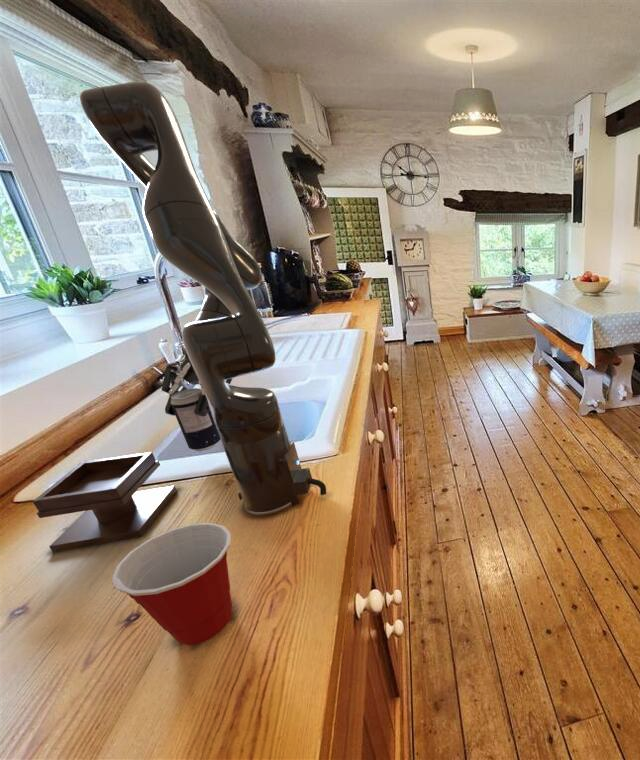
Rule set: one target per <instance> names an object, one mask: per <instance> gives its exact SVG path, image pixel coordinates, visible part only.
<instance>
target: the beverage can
mask: <svg viewBox="0 0 640 760" xmlns="http://www.w3.org/2000/svg"><path fill="white" fill-rule="evenodd" d="M179 391H180V390H179ZM200 395H203V394H202V392H201V388H197V387H196V388H195V387H194V388H193V389H187V390H183V391H180V392H177V393H175V394H173V395H172V396H171V399H172V400H171V406H172V409H173V411H174V413H175V418H176V420H177V424H178V426H179V428H180V430H181V433H182V435H183V437H184V441H185V442H186V445H187V447H188V449H190V450H193V451H196V452H204V451H207V450H210V449H212V448H214V447H217V445H219V442H221V439H220V436H219V433H218V431H217V428H216V425H215V422H214V420H213V417H212V414H211V410H209V412H208V413H207V415H206V416H199V415H196V414H195V413H194V411H195V408H196V405H197V402H198V399H199V397H200Z"/></svg>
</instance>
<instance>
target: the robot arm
mask: <svg viewBox="0 0 640 760" xmlns="http://www.w3.org/2000/svg"><path fill="white" fill-rule="evenodd" d="M79 101H80V105H81V108H82V110H83V112H84V114H85V115H86V118H87V119H88V122H89V124H90V125H91V126H92V127H93V129H94V130H95V132H96V133H97V134H98V136H99V137H100V138H101V140H103V142H104V143H105V145H107V147H108V148H109V149H110V150H111V151H112V153H113V154H114V155H115V156H116V157H117V158H118V159H119V160H120V161H121V162H122V163H123V164H124V166H126V168H127V169H128V170H129V171H130V172H131V174H133V175H134V177H135V178H136V179H137V180H138V182H140V183H141V184H142V185H143V187H145V189H146V190H145V193H144V198H143V200H142V215H143V218H144V221H145V223H146V226H147V229H148V231H149V233H150V237H151V238H152V241H153V242H154V245H155V247H156V250H157V251H158V253H159V254H160V255H161V256H162V257H163V258H164V259H165V260H166V261H167V262H168V263H170V264H171V265H172V266H173V267H174V268H176V269H177V270H179V271H180V272H181V273H184V274H185V275H186V276H188V277H189V278H191V279H192V280H193V281H195V282H197V283H198V284H200V285H202V286H203V287H204V299H203V301H202V305H201V306H200V310H199V312H198V313H197V316H196V318H195V320H194V321H192V322H188V323H186V324H185V325H184V326H183V328H182V333H181V335H182V336H181V337H182V343H183V346H184V348H183V354H184V359H183V361H182V362H181V364H177V365H174V364H171V363H169V364H167V365H166V367H165V370H164V371H165V372H164V376H163V381H162V385H161V391H162V392H163V393H166V394H168V399H167V401H166V405H165V406H164V409H165V410H164V412H165V414H166V415H170V416H172V417H173V416H175V413H174V411H173V409H172V406H171V400H172V399H171V396H172V395H173V394H175V393H177V392H180V391H183V390H187V389H194V388H195V387H196V386H197V385H199V386H200V389H201V392H202V394H203V395H200V397H199V399H198V402H197V405H196V408H195V411H194V413H195V414H196V415H199V416H206V415H207V413H208V412H209V410H211V414H212V417H213V420H214V422H215V425H216V428H217V431H218V433H219V436H220V442H221V444H222V447H223V450H224V453H225V455H226V459H227V461H228V464H229V467H230V469H231V472H232V475H233V477H234V481H235V482H236V486H237V488H238V491H239V492H238V494H237V496H238V498H239V502H241V501H242V503H243V507H244V509H245V511H246V513H247V514H249V515H250V516H255V517H265V516H271V515H275V514H278V513H281V512H283V511H285V510H287V509H289V508H291V507H293V506H297V505H300V502H301V501H302V497H303V495H306V494H309V491H310V489H311V488H310V487H311V485H314V486H317V487H318V488H319V490H320V496H324V495H327V486H326V484H325V483H324V482H323V481H322V480H320V479H316V478H313V476H312V473H311V469H310V467H305V468H302V465H301V462H300V459H299V455H298V450H297V447H296V444H295V442H294V440H291V441H290V439H289V436H288V432H287V429H286V425H285V421H284V418H283V415H282V411H281V407H280V404H279V401H278V397H277V395H276V394H275V392H274V391H273V390H271V389H269V388H266V387H255V386H254V387H250V386H238V385H234V384H231V383H232V381H233V379H235V378H239V377H242V376H247V375H251V374H254V373H255V374H256V373H258V372H261V371H262V372H263V371H265V370H268V369H271V368H272V367H274V365H275V363H276V360H277V355H276V349H275V345H274V342H273V340H272V337H271V335H270V332H269V330H268V328H267V326H266V324H265V322H264V319H263V318H262V316H261V314H260V312H259V310H258V308H257V307H256V304H255V303H254V300H253V299H252V296H251V294H250V293H249V291H248V290H254V289H256V288H258V287H259V286H260V285H261V283H262V280H263V273H262V270H261V267H260V265H259V263H258V262H257V260H256V259H255V258H254V257H253V256H252V255H251V254H250V252H249V251H248V250H246V249H245V248H244V247H243V245H241V244H240V243H239V242H238V241H237V240H236V239H234V238H233V236H232V235H231V234H230V232H229V230H228V229H227V227H226V225H225V223H224V222H223V220H222V219H221V217H220V216H219V214H218V213H217V211H216V210H215V209H214V208H213V206H212V205H211V202H210V201H209V198H208V196H207V193H206V192H205V190H204V187H203V186H202V183H201V180H200V179H199V177H198V174H197V172H196V169H195V166H194V163H193V160H192V158H191V155H190V151H189V148H188V146H187V143H186V139H185V137H184V134H183V131H182V128H181V126H180V123H179V120H178V118H177V115H176V114H175V112H174V109H173V107H172V106H171V104H170V102H169V101H168V99H167V98H166V96H165V95H164V94H163V93H162V91H161V90H160V89H158V88H157V87H156V86H155V85H153V84H151V83H149V82H147V81H130V82H124V83H119V84H118V83H117V84H112V85H111V84H110V85H106V86H98V87H93V88H87V89H84V90H82V91H81V92H80V95H79ZM154 151H155V152H156V151H157V161H156V164H155V165H153V164H152V163H151V162H150V160H149V159H148V158H147V157H146V156H145V155H144V153H149V152H154ZM184 381H185V382H184ZM180 388H181V389H180ZM175 417H176V416H175Z"/></svg>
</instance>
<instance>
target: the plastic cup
mask: <svg viewBox="0 0 640 760" xmlns="http://www.w3.org/2000/svg"><path fill="white" fill-rule="evenodd" d="M231 533H232V532H230V531H229V530H228V529H227V527H225V526H224V525H221V524H217V523H214V522H203V523H202V522H201V523H191V524H186V525H183V526H178V527H176V528H171V529H168V530H167V531H165V532H163V533H160V534H157V535H156V536H153V537H150V538H149V539H147V540H146V541H144V542H143V543H141V544H139V545H138V546H136V547H135V548H134V549H132V550H130V552H128V553H127V555H125V556H124V558H122V560H121V561H120V562H119V563H118V564H117V565H116V567H115V570H114V572H113V575H112V578H111V580H112V582H113V584H114V586H115V588H116V589H117V591H119V592H121V593H124V594H126V595H128V596H129V597H130V598H131V599H133V600H134V601H135V603H136V604H137V605H140V606H141V608H143V610H144V611H146V613H147V614H148V615H150V617H151V618H152V619H153V620H154V621H155V622H156V623H157V624H158V625H159V626H160V627H161V628H162V629H163V630H164V631H166V632H167V633H169V634H170V636H172V638H173V639H174V640H175V641H177V642H178V643H180V644H182V645H185V646H188V647H190V646H196V645H200V644H202V643H204V642H207V641H209V640H211V639H212V638H214V637H215V636H217V635H218V634H220V632H222V631H223V629H224V628H225V627H226V626H227V625H228V624H229V621H230V619H231V618H232V612H233V611H232V610H233V603H232V598H231V597H232V596H231V586H230V585H231V584H230V575H229V568H228V559H227V558H228V550H229V549H230V547H231Z"/></svg>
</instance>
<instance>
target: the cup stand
mask: <svg viewBox="0 0 640 760" xmlns="http://www.w3.org/2000/svg"><path fill="white" fill-rule="evenodd" d="M160 466H161V464H160V461H159V460H156V457H155V455H154V453H153V451H148V452H141V453H134V454H127V455H121V456H115V457H105V458H99V459H92V460H85V461H81V462H79V463H78V464H77V465H76V466H75V467H73V468H71V469H70V470H69V471H68V472H67V473H66V474H64V475H63V476H62V477H60V479H58V480H57V481H56V482H55V483H53V484H51V486H49V488H47V489H45V491H44V492H42V493H41V494H40V495H38V496H37V497H36V498H35V499H34V500H32V503H33V505H34V506H35V508H36V509H37V512H36V515H37V516H38V518H39V519H44V518H50V517H56V516H62V515H68V514H73V513H74V514H75V513H79V512H83V513H82V514H80V516H79V517H78V518H77V519H76V520H74V521H73V522H72V524H70V526H68V527H67V528H66V529H65V530H64V531H63V532H62V533H61V534H60V535H59V536H58V537H57V538H56V539H55V540H54V541H53V542H51V544H50V545H49V546H48V547H49V550H51V552H52V553H55V552H61V551H68V550H74V549H79V548H84V547H89V546H95V545H100V544H106V543H112V542H118V541H123V540H124V541H125V540H130V539H133V538H139V537H143V535H144V534H145V532H146V531H147V530H148V529H149V527H150V526H151V525H152V523H153V522H154V521H155V520H156V519H157V517H158V516H159V514H160V513H161V512H162V510H163V509H164V508H165V506H166V505H167V504H168V503H169V501H170V500H171V499H172V498H173V496H175V494H176V492H177V490H178V489H177V488H176V485H170V486H169V485H168V486H163V487H157V488H156V487H155V488H149V489H142V490H139V489H140V488H141V487H142V485H144V484H145V482H146V481H147V480H148V479H149V478H150V477H151V476H152V475H153V473H154V472H155V471H156V470H157V469H159V467H160ZM138 490H139V491H138Z"/></svg>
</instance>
